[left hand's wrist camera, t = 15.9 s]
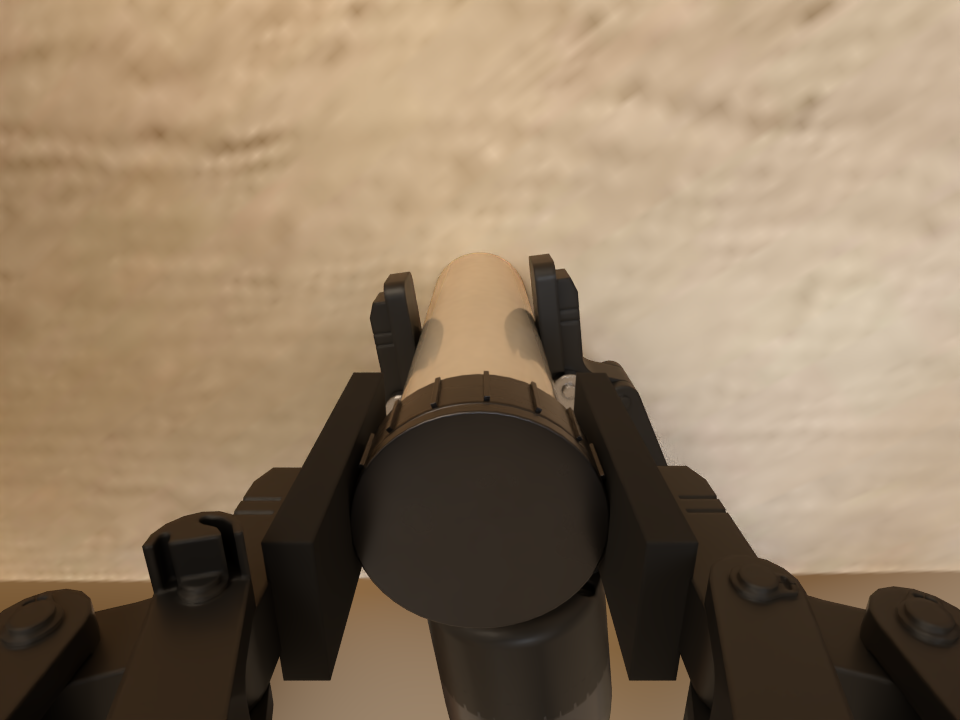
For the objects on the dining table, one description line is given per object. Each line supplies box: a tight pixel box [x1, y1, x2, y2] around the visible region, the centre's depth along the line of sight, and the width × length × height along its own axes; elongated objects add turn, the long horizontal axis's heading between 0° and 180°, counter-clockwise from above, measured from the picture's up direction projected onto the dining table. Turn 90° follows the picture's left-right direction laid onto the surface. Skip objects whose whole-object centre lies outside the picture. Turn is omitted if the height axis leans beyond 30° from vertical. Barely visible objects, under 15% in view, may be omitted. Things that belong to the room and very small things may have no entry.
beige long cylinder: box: [400, 253, 560, 402], centre depth 19 cm, size 4×4×16 cm
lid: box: [350, 371, 610, 628], centre depth 12 cm, size 5×5×2 cm
